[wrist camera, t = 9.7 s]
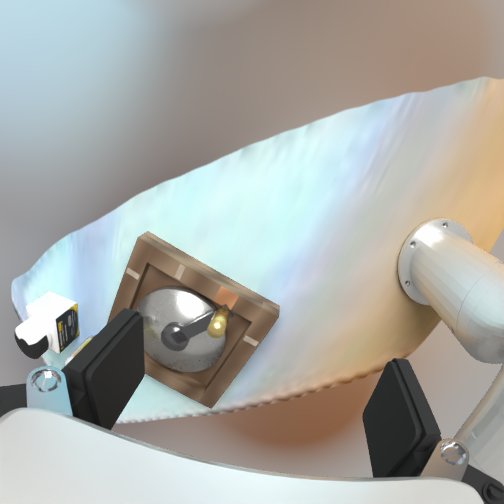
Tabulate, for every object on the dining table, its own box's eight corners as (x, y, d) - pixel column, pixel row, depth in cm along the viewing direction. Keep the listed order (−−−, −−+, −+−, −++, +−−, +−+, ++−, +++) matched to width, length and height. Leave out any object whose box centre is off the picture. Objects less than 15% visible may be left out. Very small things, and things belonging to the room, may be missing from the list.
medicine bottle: (80, 335, 50) (43, 370, 39) (52, 322, 50) (14, 353, 39) (78, 302, 48) (36, 335, 37) (49, 289, 48) (6, 318, 37)
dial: (175, 376, 48) (160, 405, 41) (121, 309, 45) (98, 332, 39) (260, 339, 44) (254, 370, 37) (203, 258, 41) (186, 279, 34)
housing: (279, 305, 43) (278, 317, 40) (215, 396, 50) (211, 409, 47) (148, 231, 42) (137, 237, 39) (109, 335, 49) (99, 345, 46)
